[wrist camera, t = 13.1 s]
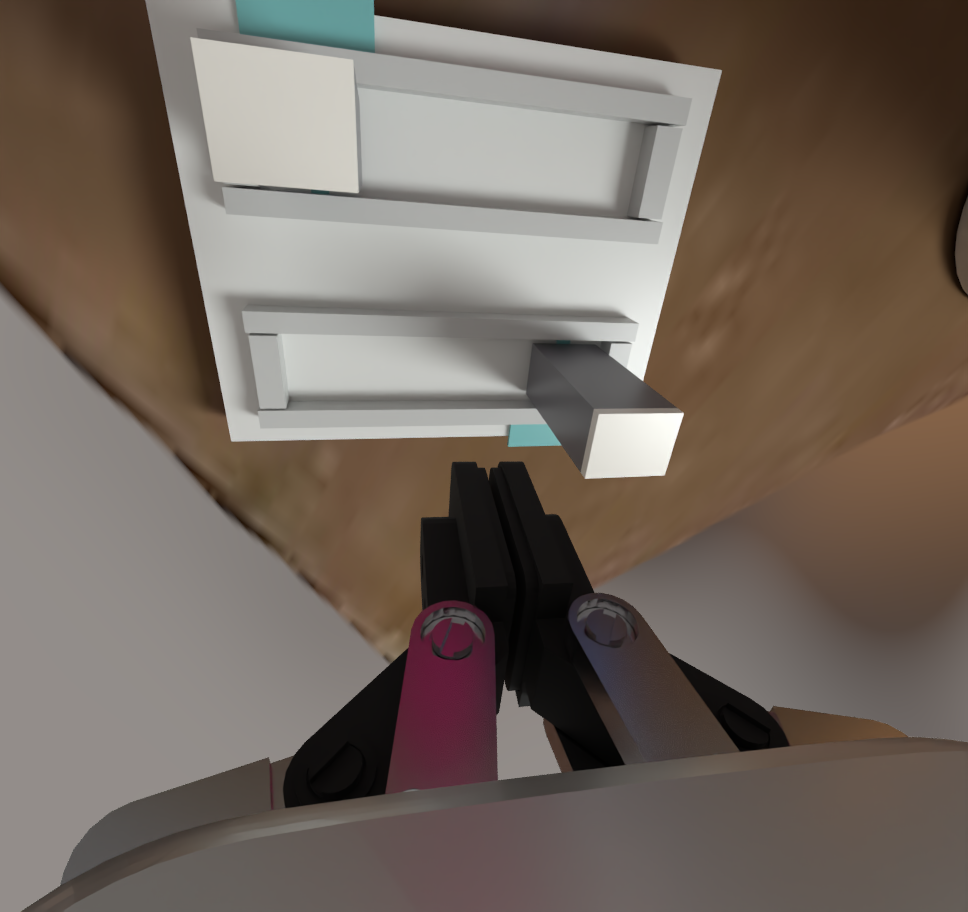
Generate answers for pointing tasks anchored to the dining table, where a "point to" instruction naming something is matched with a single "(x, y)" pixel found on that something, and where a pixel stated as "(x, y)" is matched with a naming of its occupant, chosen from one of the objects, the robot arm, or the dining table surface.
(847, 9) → the dining table surface
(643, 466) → the tab
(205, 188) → the switch board
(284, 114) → the tab
